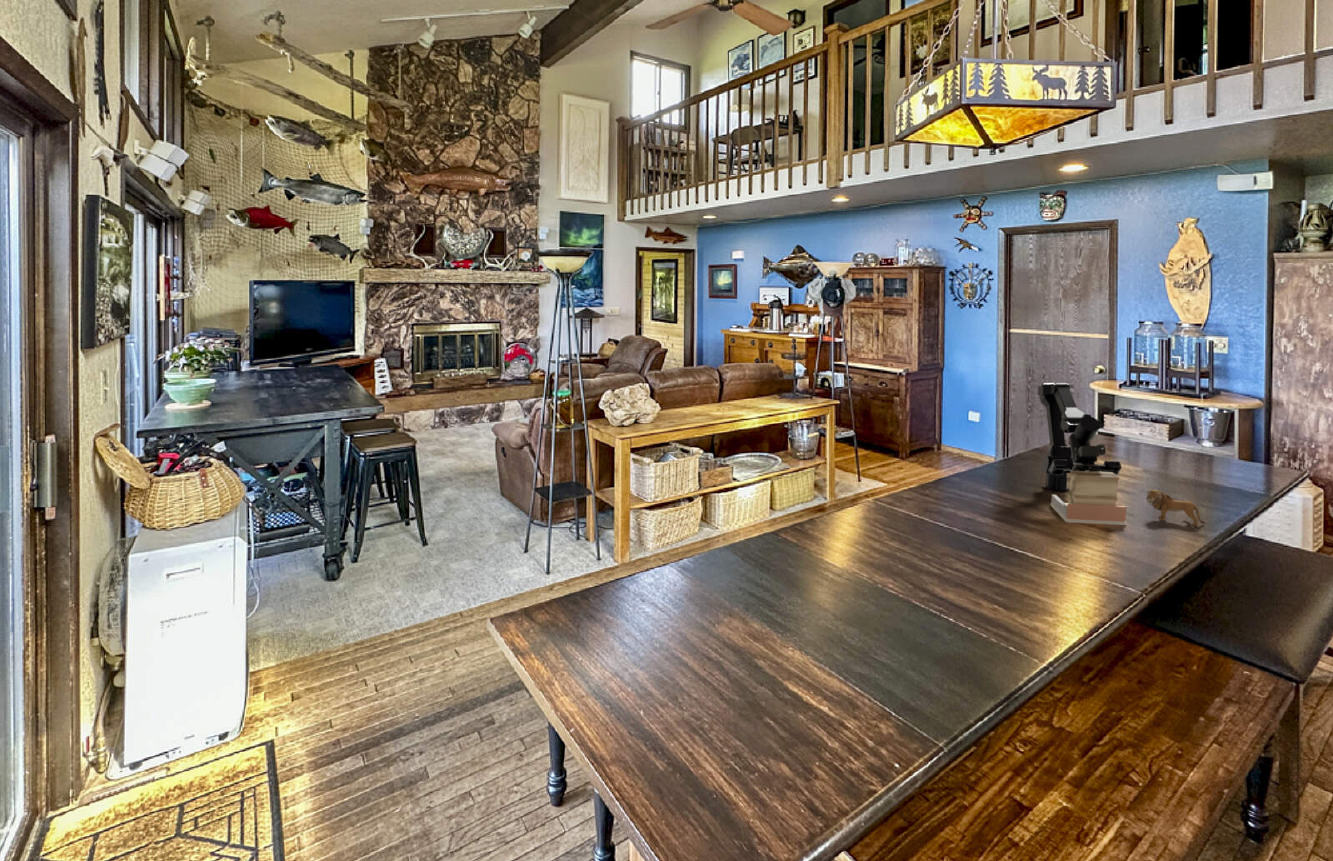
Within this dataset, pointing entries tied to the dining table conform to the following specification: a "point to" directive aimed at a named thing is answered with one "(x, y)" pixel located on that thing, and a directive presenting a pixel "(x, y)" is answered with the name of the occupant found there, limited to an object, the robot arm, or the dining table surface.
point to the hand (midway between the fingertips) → (1089, 491)
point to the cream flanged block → (1093, 488)
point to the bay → (1089, 512)
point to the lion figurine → (1172, 506)
